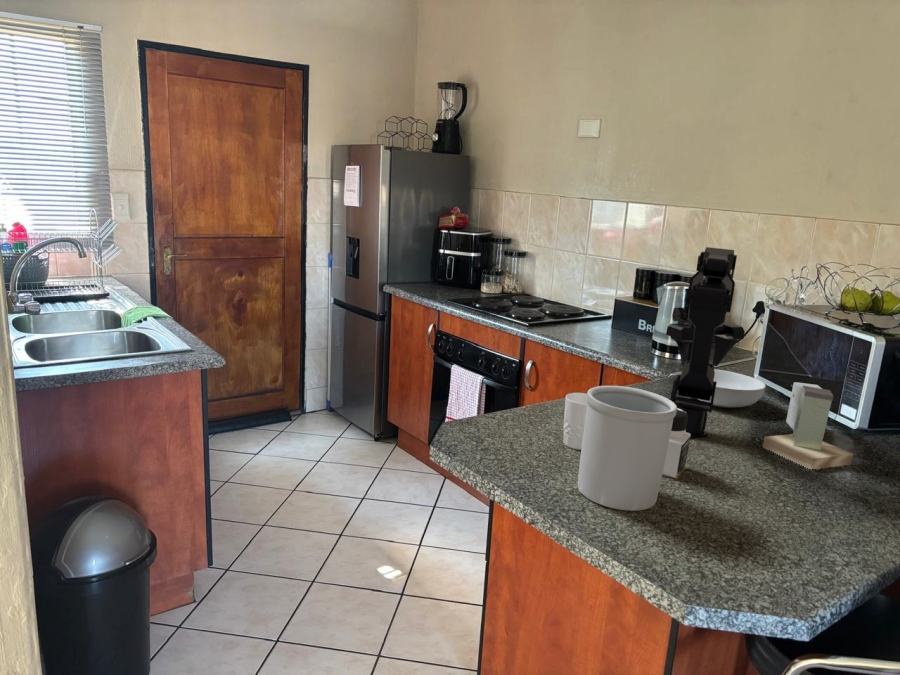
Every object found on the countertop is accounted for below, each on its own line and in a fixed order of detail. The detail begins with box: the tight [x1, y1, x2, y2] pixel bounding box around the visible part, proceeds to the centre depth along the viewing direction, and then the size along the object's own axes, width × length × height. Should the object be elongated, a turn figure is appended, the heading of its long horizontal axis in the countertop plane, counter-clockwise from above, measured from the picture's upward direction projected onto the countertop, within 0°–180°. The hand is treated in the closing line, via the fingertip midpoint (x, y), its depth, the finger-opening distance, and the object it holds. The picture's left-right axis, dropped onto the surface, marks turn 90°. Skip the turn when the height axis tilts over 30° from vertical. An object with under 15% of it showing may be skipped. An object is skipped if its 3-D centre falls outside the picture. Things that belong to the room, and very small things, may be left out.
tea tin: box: [792, 386, 834, 451], centre depth 139 cm, size 5×5×12 cm
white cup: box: [562, 392, 588, 451], centre depth 135 cm, size 8×8×10 cm
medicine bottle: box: [662, 408, 692, 479], centre depth 126 cm, size 7×7×12 cm
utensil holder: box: [577, 385, 677, 512], centre depth 113 cm, size 15×15×18 cm
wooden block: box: [762, 433, 854, 471], centre depth 140 cm, size 12×12×3 cm
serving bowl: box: [680, 368, 767, 409], centre depth 173 cm, size 21×21×7 cm
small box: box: [785, 381, 823, 430], centre depth 157 cm, size 8×6×10 cm
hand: (699, 366), depth 156 cm, fingers open, 9 cm apart
